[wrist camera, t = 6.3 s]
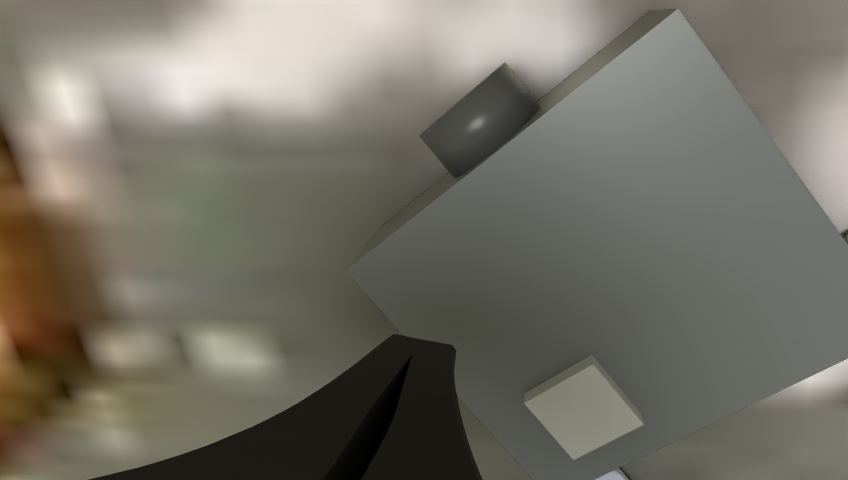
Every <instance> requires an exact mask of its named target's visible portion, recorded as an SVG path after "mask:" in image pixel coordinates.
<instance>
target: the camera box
mask: <svg viewBox="0 0 848 480" xmlns="http://www.w3.org/2000/svg"><path fill="white" fill-rule="evenodd" d="M420 137H421V139H422V140H423V141H424V142H425V143H426V145H427V146H428V147H429V148H430V149H431V151H432V152H433V153H434V154H435V155H436V157H437V158H438V159H439V160H440V161H441V163H442V164H443V165H444V166H445V167H446V169H447V170H448V171H449V173H448V174H446V175H445V176H444V177H443V178H441V179H440V180H439V181H438V182H436V183H435V184H434V185H433V186H431V187H430V188H429V189H428V190H426V191H425V192H424V193H423V194H421V195H420V196H419V197H418V198H416V199H415V200H414V201H413V202H411V203H410V204H409V205H408V206H406V207H405V208H404V209H403V210H401V211H400V212H399V213H398V214H396V215H395V216H394V217H393V218H391V219H390V220H389V221H388V222H386V223H385V224H384V225H383V226H381V228H380V229H379V230H378V231H377V233H376V234H375V235H374V236H373V237H372V239H371V240H370V241H369V242H368V244H367V245H366V246H365V247H364V249H363V250H362V251H361V252H360V253H359V255H358V256H357V257H356V258H355V260H354V261H353V262H352V263H351V264H350V266H349V267H348V268H347V269H346V272H347V273H348V274H349V275H350V276H351V278H352V279H353V280H354V281H355V282H356V283H357V284H358V285H359V286H360V288H361V289H362V290H363V291H364V292H365V293H366V294H367V295H368V297H369V298H370V299H371V300H372V301H373V302H374V303H375V304H376V305H377V307H378V308H379V309H380V310H381V311H382V312H383V313H384V314H385V316H386V317H387V318H388V319H389V320H390V321H391V322H392V323H393V324H394V326H395V327H396V328H397V329H398V330H399V331H400V332H401V333H402V335H403V336H406V337H412V338H417V339H423V340H428V341H434V342H439V343H445V344H450V345H453V347H454V348H455V349H456V351H457V352H456V360H455V369H454V378H455V388H456V394H457V396H458V397H459V398H460V399H461V400H462V402H463V403H464V404H465V405H466V406H467V407H468V408H469V409H470V411H471V412H472V413H473V414H474V415H475V416H476V417H477V418H478V419H479V421H480V422H481V423H482V424H483V425H484V426H485V427H486V428H487V430H488V431H489V432H490V433H491V434H492V435H493V436H494V437H495V438H496V440H497V441H498V442H499V443H500V444H501V445H502V446H503V447H504V449H505V450H506V451H507V452H508V453H509V454H510V455H511V456H512V457H513V459H514V460H515V461H516V462H517V463H518V464H519V465H520V466H521V468H522V469H523V470H524V471H525V472H526V473H527V474H528V475H529V476H530V478H531V479H532V480H595V479H597V478H599V477H601V476H603V475H605V474H607V473H610V472H612V471H614V470H616V469H618V468H620V467H622V466H624V465H626V464H628V463H630V462H633V461H635V460H637V459H639V458H641V457H643V456H645V455H647V454H649V453H651V452H653V451H655V450H658V449H660V448H662V447H664V446H666V445H668V444H670V443H672V442H674V441H676V440H678V439H681V438H683V437H685V436H687V435H689V434H691V433H693V432H695V431H697V430H699V429H701V428H704V427H706V426H708V425H710V424H712V423H714V422H716V421H718V420H720V419H722V418H724V417H727V416H729V415H731V414H733V413H735V412H737V411H739V410H741V409H743V408H745V407H747V406H749V405H752V404H754V403H756V402H758V401H760V400H762V399H764V398H766V397H768V396H770V395H772V394H775V393H777V392H779V391H781V390H783V389H785V388H787V387H789V386H791V385H793V384H795V383H798V382H800V381H802V380H804V379H806V378H808V377H810V376H812V375H814V374H816V373H818V372H821V371H823V370H825V369H827V368H829V367H831V366H833V365H835V364H837V363H839V362H841V361H843V360H846V359H848V244H847V243H846V241H845V240H844V239H843V237H842V236H841V234H840V233H839V232H838V230H837V229H836V228H835V226H834V225H833V223H832V222H831V221H830V219H829V218H828V216H827V215H826V214H825V212H824V211H823V209H822V208H821V207H820V205H819V204H818V202H817V201H816V200H815V198H814V197H813V196H812V194H811V193H810V191H809V190H808V189H807V187H806V186H805V184H804V183H803V182H802V180H801V179H800V177H799V176H798V175H797V173H796V172H795V171H794V169H793V168H792V166H791V165H790V164H789V162H788V161H787V159H786V158H785V157H784V155H783V154H782V152H781V151H780V150H779V148H778V147H777V145H776V144H775V143H774V141H773V140H772V139H771V137H770V136H769V134H768V133H767V132H766V130H765V129H764V127H763V126H762V125H761V123H760V122H759V120H758V119H757V118H756V116H755V115H754V113H753V112H752V111H751V109H750V108H749V107H748V105H747V104H746V102H745V101H744V100H743V98H742V97H741V95H740V94H739V93H738V91H737V90H736V88H735V87H734V86H733V84H732V83H731V81H730V80H729V79H728V77H727V76H726V75H725V73H724V72H723V70H722V69H721V68H720V66H719V65H718V63H717V62H716V61H715V59H714V58H713V56H712V55H711V54H710V52H709V51H708V50H707V48H706V47H705V45H704V44H703V43H702V41H701V40H700V38H699V37H698V36H697V34H696V33H695V31H694V30H693V29H692V27H691V26H690V24H689V23H688V22H687V20H686V19H685V18H684V16H683V15H682V13H681V12H680V11H679V9H666V10H651V11H650V12H648V13H647V14H646V15H645V16H643V17H642V18H641V19H640V20H638V21H637V22H636V23H635V24H633V25H632V26H631V27H630V28H628V29H627V30H626V31H625V32H623V33H622V34H621V35H620V36H618V37H617V38H616V39H615V40H613V41H612V42H611V43H610V44H608V45H607V46H606V47H605V48H603V49H602V50H601V51H600V52H598V53H597V54H596V55H595V56H593V57H592V58H591V59H590V60H588V61H587V62H586V63H585V64H583V65H582V66H581V67H580V68H578V69H577V70H576V71H575V72H573V73H572V74H571V75H570V76H568V77H567V78H566V79H565V80H563V81H562V82H561V83H560V84H558V85H557V86H556V87H555V88H554V89H552V90H551V91H550V92H549V93H547V94H546V95H545V96H544V97H542V98H541V99H540V100H539V101H537V102H536V101H535V100H534V98H533V97H532V96H531V95H530V93H529V92H528V91H527V90H526V88H525V87H524V86H523V84H522V83H521V82H520V81H519V79H518V78H517V77H516V76H515V74H514V73H513V72H512V70H511V69H510V68H509V67H508V65H507V64H506V63H504V64H502V65H501V66H500V67H499V68H498V69H496V70H495V71H494V72H493V73H492V74H490V75H489V76H488V77H487V78H486V79H485V80H483V81H482V82H481V83H480V84H479V85H477V86H476V87H475V88H474V89H473V90H472V91H470V92H469V93H468V94H467V95H466V96H465V97H463V98H462V99H461V100H460V101H459V102H458V103H456V104H455V105H454V106H453V107H452V108H451V109H449V110H448V111H447V112H446V113H445V114H444V115H443V116H441V117H440V118H439V119H438V120H437V121H436V122H434V123H433V124H432V125H431V126H430V127H429V128H428V129H426V130H425V131H424V132H423V133H422V134H421V135H420Z"/></svg>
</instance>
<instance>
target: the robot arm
mask: <svg viewBox="0 0 848 480" xmlns="http://www.w3.org/2000/svg"><path fill="white" fill-rule="evenodd" d="M456 352H457V351H456V349H455V348H454V347H453V345H450V344H445V343H439V342H434V341H428V340H423V339H417V338H412V337H406V336H401V335H395V334H393V335H392V336H390V337H389V338H387V339H386V340H385V341H384V342H382V343H381V344H380V345H379V346H377V347H376V348H375V349H374V350H372V351H371V352H370V353H369V354H367V355H366V356H365V357H363V358H362V359H361V360H360V361H358V362H357V363H356V364H354V365H353V366H352V367H350V368H349V369H348V370H346V371H345V372H344V373H342V374H341V375H340V376H338V377H337V378H335V379H334V380H333V381H331V382H330V383H328V384H327V385H325V386H324V387H322V388H321V389H319V390H318V391H316V392H315V393H313V394H311V395H310V396H308V397H307V398H305V399H304V400H302V401H301V402H299V403H297V404H296V405H294V406H292V407H290V408H288V409H287V410H285V411H283V412H281V413H279V414H277V415H275V416H273V417H271V418H269V419H267V420H265V421H263V422H261V423H259V424H257V425H255V426H253V427H251V428H248V429H246V430H244V431H241V432H239V433H236V434H234V435H232V436H229V437H227V438H224V439H222V440H220V441H217V442H215V443H212V444H210V445H207V446H205V447H202V448H199V449H196V450H193V451H190V452H188V453H185V454H182V455H179V456H176V457H172V458H169V459H166V460H163V461H159V462H156V463H153V464H149V465H146V466H142V467H139V468H135V469H131V470H127V471H122V472H118V473H114V474H110V475H106V476H102V477H98V478H94V479H89V480H482V477H481V475H480V473H479V470H478V468H477V465H476V463H475V460H474V457H473V455H472V452H471V449H470V446H469V443H468V440H467V436H466V433H465V429H464V426H463V422H462V418H461V414H460V410H459V404H458V399H457V394H456V388H455V378H454V369H455V360H456ZM595 480H629V479H628V478H627V477H626V475H625V474H624V473H623V472H622V471H621V470H620V469H619V468H618V469H616V470H614V471H612V472H610V473H607V474H605V475H603V476H601V477H599V478H597V479H595Z"/></svg>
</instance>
